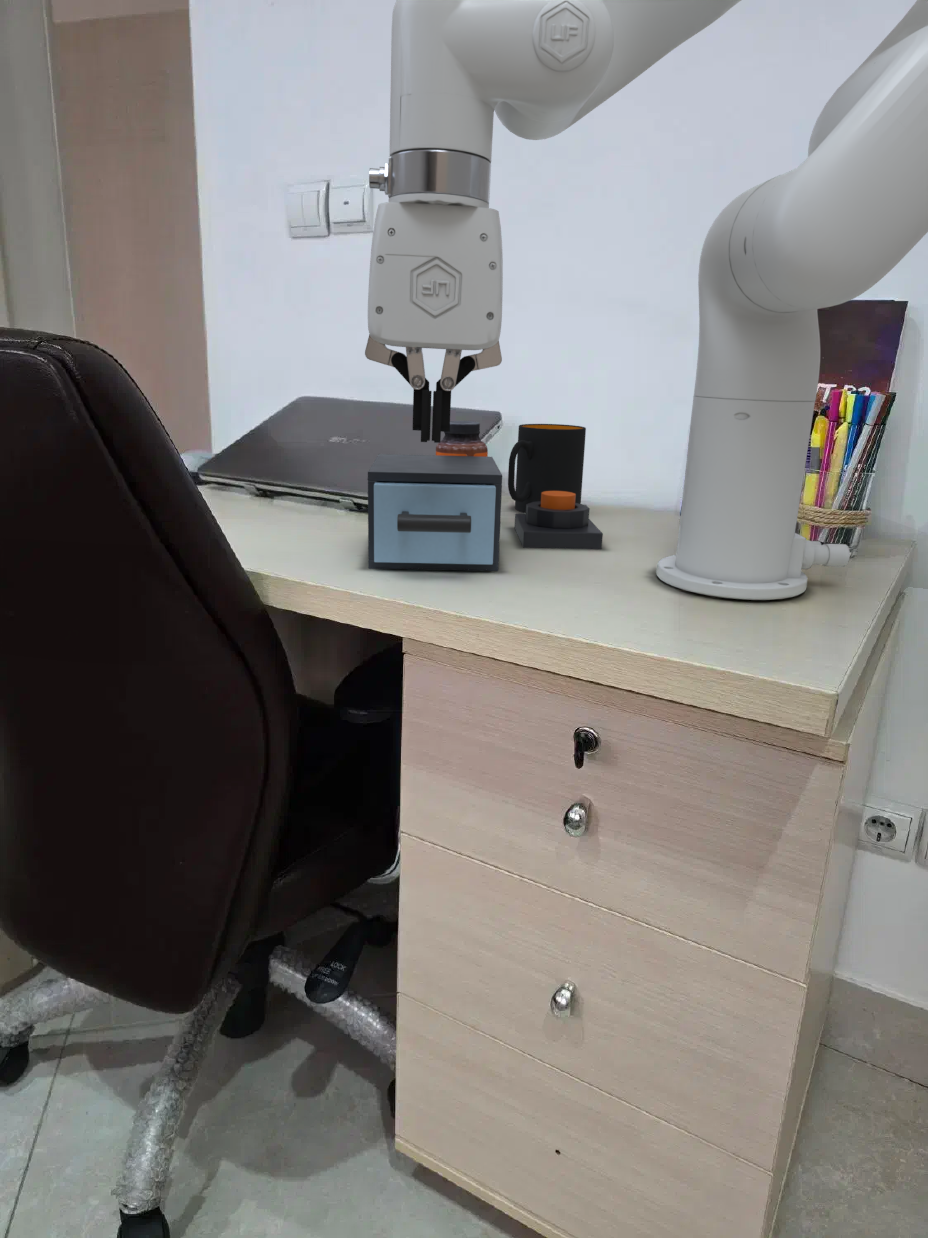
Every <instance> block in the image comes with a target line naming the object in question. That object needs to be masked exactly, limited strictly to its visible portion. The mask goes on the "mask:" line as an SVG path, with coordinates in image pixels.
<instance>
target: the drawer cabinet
mask: <svg viewBox="0 0 928 1238" xmlns="http://www.w3.org/2000/svg"><path fill="white" fill-rule="evenodd" d="M385 481H392V482H434V483H475V484H486V485H495V487H496V497H495V522H494V547H493V564H492V565H488V564H439V563H390V562H374V484H375V482H376V483H384V482H385ZM502 492H503V473H502V472H501V470H500V469H499V466H498V465H497V463H496V461H495V459H494V458H493V456H488V457H480V456H441V455H436V454H401V453H399V454H397V453H396V454H395V453H378V454H377V456H376V457H375V459H374V461H373V462H372V464H371V465H370V467H369V469H368V470H367V533H368V534H367V544H368V545H367V547H368V548H367V550H368V551H367V555H368V557H367V560H368V561H367V562H368V563H367V564H368V567H367V568H368V569H370V570H371V569H373V570H374V569H376V570H377V569H378V570H420V571H421V570H425V571H426V570H427V571H469V572H470V571H471V572H472V571H473V572H474V571H475V572H478V571H479V572H499V561H500V541H501V539H500V538H501V516H502V514H501V513H502Z"/></svg>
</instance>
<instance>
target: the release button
mask: <svg viewBox="0 0 928 1238" xmlns="http://www.w3.org/2000/svg"><path fill="white" fill-rule="evenodd" d="M575 498H576V494H575V493H572V492H566V491H544V492H542V493H541V507H542V508H547V509H558V510H568V509H575Z"/></svg>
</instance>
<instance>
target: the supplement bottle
mask: <svg viewBox="0 0 928 1238" xmlns="http://www.w3.org/2000/svg"><path fill="white" fill-rule="evenodd" d="M480 427H481V423H480V422H478V421H474V420H450V432H443V434H444V436H443V437H442V438H441V441H440V443H436V446H435V455H441V456H480V457H489V456H488V455H489V451H488V449H489V448H488V446H487V444H486V443H485V442H484V441H482V439H481V438H480V434H481V430H480V429H481V428H480Z"/></svg>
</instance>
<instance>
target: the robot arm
mask: <svg viewBox="0 0 928 1238" xmlns="http://www.w3.org/2000/svg"><path fill="white" fill-rule="evenodd" d="M741 1H742V0H396V1H395V3H394V6H393V9H392V16H391V17H392V18H391V39H390V40H391V41H390V42H391V43H390V45H391V46H390V51H391V52H390V97H389V98H390V103H389V104H390V106H389V107H390V108H389V110H390V111H389V156H388V163H385V162H384V166H379V168H373V167H369V170H368V171H369V172H368V185H369V186H368V187H369V189H375V190H379V192H384V194H385V195H386V196H387V197H388V201H387V202H381V203H378V205H377V209H376V213H375V218H374V225H373V232H372V238H371V249H370V260H369V262H370V263H369V273H368V276H369V277H368V293H367V294H368V295H367V329H368V337H367V343H366V345H365V349H364V356H365V358H366V359H367V360H368V361H372V362H376V363H378V364H382V365H385V366H388V367H392V368H394V369H395V370H396V371H397V372H398V373H399V374H400V375H401V376H402V378H403V379H404V380H405V381H406V382H407V383H408V384H409V386H410V387H411V388H412V389H413V391H412V392H413V393H412V394H413V395H412V431H420V443H428V442H429V441H430V440H431V442H433V443H434V444H435V443H436V444H438V443H440V441H441V440H442V438H441V437H442V432H443V433H444V432H450V421H451V407H452V406H451V405H452V391H453V390H454V388H456V387H457V386H458V385H459V384H460V383H461V382H462V381H463V380H465V378H466V377H467V376H469V375H470V373H471V372H474V371H475V372H476V371H480V370H485V369H489V368H494V367H498V366H500V365H501V364H502V361H503V357H502V351H501V345H500V338H501V333H502V322H503V321H502V320H503V294H504V293H503V289H504V287H503V286H504V280H503V279H504V277H503V276H504V272H503V271H504V263H503V262H504V258H503V255H504V254H503V238H502V237H503V236H502V225H501V218H500V213H499V212H500V211H499V210H497V209H494V208H491V207H490V197H491V196H490V194H491V177H492V176H491V175H492V157H493V154H492V153H493V133H494V115H495V114H496V117H497V118H498V120H499V121H500V123H501V125H503V127H505V128H506V129H507V130H508V131H509V132H510V133H511V134H512V135H513V134H514V135H515V136H517V137H519V138H521V139H525V140H530V141H540V140H541V141H542V140H547V139H550V138H553V137H555V136H558V135H559V134H561V133H563V132H564V131H565V130H567V129H569V128H570V127H572V126H573V125H575V124H576V123H578V122H579V121H580V120H582V119H584V117H585V116H587V115H588V114H589V113H591V112H592V111H594V110H595V109H596V108H598V107H600V106H601V105H602V104H603V103H605V102H606V101H607V100H608V99H610V98H612V97H613V96H614V95H616V94H617V93H619V91H621V90H622V89H623V88H625V87H627V86H628V85H629V84H630V83H632V82H633V81H634V80H636V79H637V78H638V77H639V76H641V75H642V74H644V73H645V72H646V71H647V70H649V69H650V68H651V67H652V66H654V65H655V64H657V63H658V62H659V61H660V60H662V59H663V58H664V57H665V56H667V55H668V54H670V53H671V52H672V51H674V50H675V49H676V48H678V47H680V45H682V44H683V43H685V42H687V41H688V40H689V39H691V38H692V37H694V36H695V35H698V34H699V33H700V32H702V31H703V30H705V29H706V28H707V27H709V26H710V25H712V24H713V23H715V22H716V21H717V20H718V19H720V18H721V17H723V16H724V15H725V14H726V13H728V11H729V10H731V9H732V8H733V7H734V6H736V5H737V4H738V3H739V2H741ZM926 234H928V0H916V1H915V2H914V3H913V5H912V6H911V7H910V8H909V10H908V11H907V12H906V13H905V15H904V16H903V17H902V18H901V20H899V22H898V23H897V24H896V25H895V26H894V27H893V29H892V30H891V31H890V32H889V33H888V34H887V35H886V36H885V38H884V39H882V41H881V42H880V43H879V44H878V46H876V47H875V49H874V50H873V51H872V52H871V53H869V56H867V58H866V59H865V60H864V61H863V62H862V63H861V64H860V65H859V66H858V67H857V68H856V69H855V70H854V72H852V73H851V75H849V77H848V78H846V80H845V81H843V82H842V83H841V84H840V85H839V87H837V89H836V90H835V91H834V93H833V94H832V95H831V97H829V99H828V100H827V101H826V103H825V104H824V106H823V107H822V110H821V112H820V113H819V115H818V117H817V118H816V121H815V123H814V125H813V128H812V131H811V133H810V138H809V141H808V149H807V158H806V159H804V161H803V162H802V163H800V164H799V165H798V166H797V167H795V168H793V169H790V170H789V171H787V172H785V173H782V174H779V175H777V176H775V177H771V178H770V179H767V180H765V181H764V182H761V183H759V184H757V185H755V186H753V187H750V188H749V189H747V190H745V191H744V192H742V193H741V194H739V195H738V196H736V197H735V198H733V199H732V200H731V201H730V202H728V204H727V205H726V206H725V207H723V209H722V210H721V211H720V212H719V214H718V215H717V216H716V218H715V219H714V220H713V223H712V224H711V225H710V227H709V229H708V231H707V233H706V236H705V238H704V240H703V244H702V248H701V252H700V255H699V264H698V278H697V279H698V284H697V285H698V286H697V287H698V316H699V317H698V318H699V321H698V322H699V323H698V326H699V327H698V328H699V329H698V331H699V332H698V349H697V360H696V361H697V362H696V370H695V381H694V391H693V396H692V405H691V406H692V407H691V416H690V425H689V433H688V442H687V443H688V444H687V451H686V461H685V470H684V471H685V472H684V480H683V489H682V491H683V492H682V499H681V507H680V516H679V527H678V533H677V534H678V536H677V544H676V553H675V554H673V555H668V556H665V557H663V558H661V559H659V560H658V561H657V564H656V577H658V579H659V580H660V581H662V582H664V583H665V584H667V585H669V586H671V587H673V588H677V589H680V590H682V591H686V592H690V593H695V594H699V595H705V596H710V597H717V598H723V599H735V600H748V601H749V600H751V601H770V600H783V599H789V598H790V599H791V598H793V597H797V596H799V595H801V594H804V592H806V590H807V587H808V576H807V574H806V573H805V572H803V571H802V570H809V569H811V568H812V566H813V565H814V566H816V565H817V566H821V567H822V566H823V567H846V566H847V565H848V564H849V561H850V558H851V552H850V551H851V550H850V547H849V545H848V544H846V543H824V544H822V543H821V542H820V541H819V540H809V539H807V538H806V537H805V536H802V535H801V534H799V533H796V530H797V521H798V515H799V509H800V503H801V495H802V489H803V482H804V476H805V470H806V463H807V456H808V449H809V443H810V437H811V429H812V425H813V424H812V423H813V418H814V417H813V416H814V410H815V404H816V400H817V392H818V387H819V378H820V369H821V367H820V366H821V337H820V335H821V334H820V325H819V315H818V310H819V309H824V308H830V307H831V308H832V307H834V306H839V305H842V304H844V303H847V302H850V301H853V300H854V299H856V298H857V297H859V296H861V295H862V294H864V293H865V292H867V291H868V290H870V289H871V288H872V287H873V286H875V285H877V283H878V282H880V281H881V280H882V279H883V278H884V277H885V276H886V275H887V274H889V273H890V272H891V271H892V270H893V269H894V268H895V267H896V266H897V265H898V264H899V263H900V262H901V261H902V260H903V259H904V258H905V257H906V256H907V254H908V253H909V252H911V250H912V249H913V248H914V247H915V246H916V245H917V244H918V243H919V242H920V241H921V240H922V239H923V237H925V235H926ZM387 346H390V347H398V348H399V347H400V348H405V353H403V352H400V351H397V350H394V349H391V348H388V347H387ZM423 349H431V350H433V349H436V350H445V353H444V358H443V359H444V360H443V363H442V369H441V374H440V379H438V380H437V381H436V383H435V390H433V392H432V390H430V381H429V379H427V377H426V371H425V370H426V369H425V360H424V353H423ZM463 351H480V352H479V353H474V354H469V355H464V356H463V357H462V352H463ZM432 395H433V396H432ZM431 419H432V421H431ZM431 422H432V423H431Z"/></svg>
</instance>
